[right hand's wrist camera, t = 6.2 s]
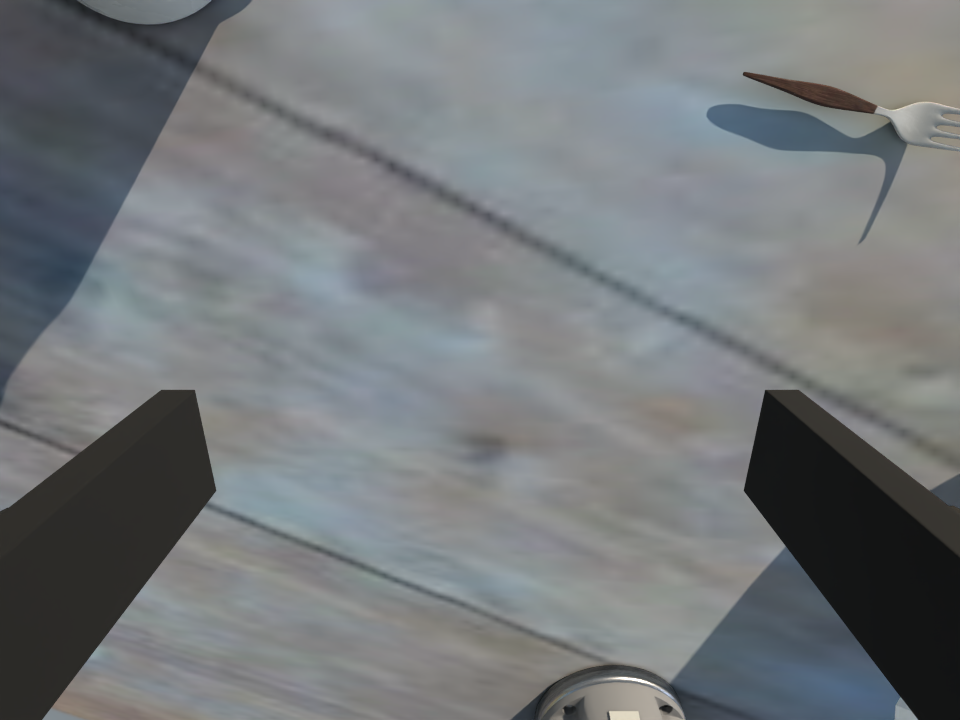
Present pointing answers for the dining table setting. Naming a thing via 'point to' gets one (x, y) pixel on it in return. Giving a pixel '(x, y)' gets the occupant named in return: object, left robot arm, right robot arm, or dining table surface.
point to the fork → (876, 110)
